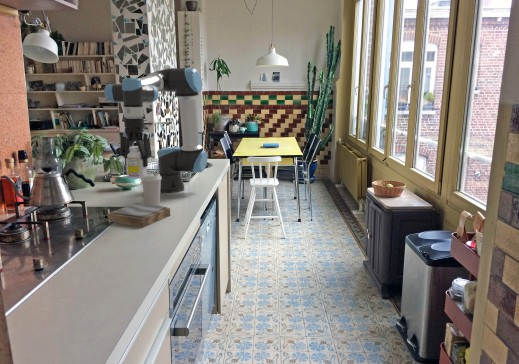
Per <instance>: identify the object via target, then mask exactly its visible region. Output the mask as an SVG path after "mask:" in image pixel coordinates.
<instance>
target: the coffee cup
mask: <svg viewBox="0 0 519 364" xmlns="http://www.w3.org/2000/svg"><path fill="white" fill-rule="evenodd" d="M161 179H162V178H161V176H160V174H159V173H158V172H157V173H156V172H155V173H154V172H149V173H148V172H147V174H146V175H145V177H144V178H140V181H141V185H142V192H143V198H144V204H147V205H155V206H161V192H160V186H161Z"/></svg>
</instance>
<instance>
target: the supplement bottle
mask: <svg viewBox="0 0 519 364" xmlns="http://www.w3.org/2000/svg"><path fill="white" fill-rule="evenodd" d="M129 150H130V153H128V155H127V160H128V174H127V175H128V178H129V179H132V180H139V179H141V178H144V177H145V175H141V163H140V159H141V158H142V157H141V154H140V151H139V148H138V145H134V146H131V147H129Z"/></svg>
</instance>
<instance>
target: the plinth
mask: <svg viewBox="0 0 519 364" xmlns="http://www.w3.org/2000/svg"><path fill="white" fill-rule="evenodd" d="M170 216H171V207H167V206H163V205H160V206H155V205H147V204H145V203H140V202H139V203H138V202H136V203H133V204H130V205H127V206H125V207H122V208H121V207H120V208H119V209H116V210H113V211H111V212H107V221H108V220H110V221H114V222H116V223H115V224H118V225H119V224H120V225H127V226H131V227H132V226H133V227H139V228H145V227H147V226H150V225H152V224H154V223H156V222H159V221H162V220H164V219H166V218H169V217H170Z"/></svg>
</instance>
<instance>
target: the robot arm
mask: <svg viewBox="0 0 519 364" xmlns="http://www.w3.org/2000/svg"><path fill="white" fill-rule="evenodd" d="M202 89H203V80H202V76H201V74H200V72H199V71H198V70H197V69H196V68H193V67H192V68H191V67H183V68H181V67H176V68H164V69H160V70H157V71H154V72H150V73H149V74H148V75H146V76H143V77H139V78H135V77H133V78H132V77H126V78H123V79H122V82H121V83H115V84H114V83H112V84H111V83H109V84H107V85H106V86H105V87H104V90H103V94H104V98H105V99H106V101H107V102H110V103H123V117H124V119H123V122H124V123H123V124H124V128H125V131H120V132H119V137H120V145H119V146H120V147H119V148H120V151H119V152H120V157H123V158H124V164H125V166H126V175H128V160H127V155H128V153H130V150H129V147H131V146H133V145H134V143H135V144H137V145H136V146H138V148H139V151H140V154H141V157H142V158H141V159H140V163H141V175H146V174H148V171H147V170H148V168H147V167H149V163H148V159H150V158H152V156H153V155H152V148H151V147H152V146H151V141H150V137H151V133H150V132H145V130H144V127H145V121H144V105H143V103H147V104H148V103H154V102H156V101H158V98H159V93H160V92H169V93H175V97H176V98H177V99H178V102H179V103H178V105H179V113H180V125H181V136H182V146H181V147H180V146H174V147H165V148H161V149H159V150H158V153H157V155H158V156H157V159H158V174H160V176H161V178H162V179H161V186H160V193H177V192H182V191H185V184H184V181H183V177H182V175H181V174H182V173H183V172H184V173H185V172H186V173H194V174H195V173H202V172H203V171H204V170H205V169H206V167H207V165H208V152H207V151H206V150H204V148H203V146H202V144H201V143H200V136H199V121H198V109H197V98H198V97H199V92H201V91H202ZM181 172H182V173H181Z"/></svg>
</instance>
